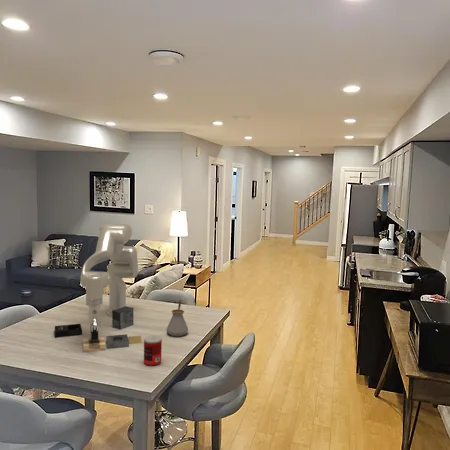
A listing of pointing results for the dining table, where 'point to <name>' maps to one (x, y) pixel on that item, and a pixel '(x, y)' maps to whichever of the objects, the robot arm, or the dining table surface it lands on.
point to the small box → (122, 317)
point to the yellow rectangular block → (134, 339)
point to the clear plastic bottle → (94, 340)
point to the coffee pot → (177, 323)
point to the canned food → (152, 350)
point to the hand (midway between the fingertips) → (94, 335)
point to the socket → (117, 341)
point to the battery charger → (68, 330)
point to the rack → (94, 345)
